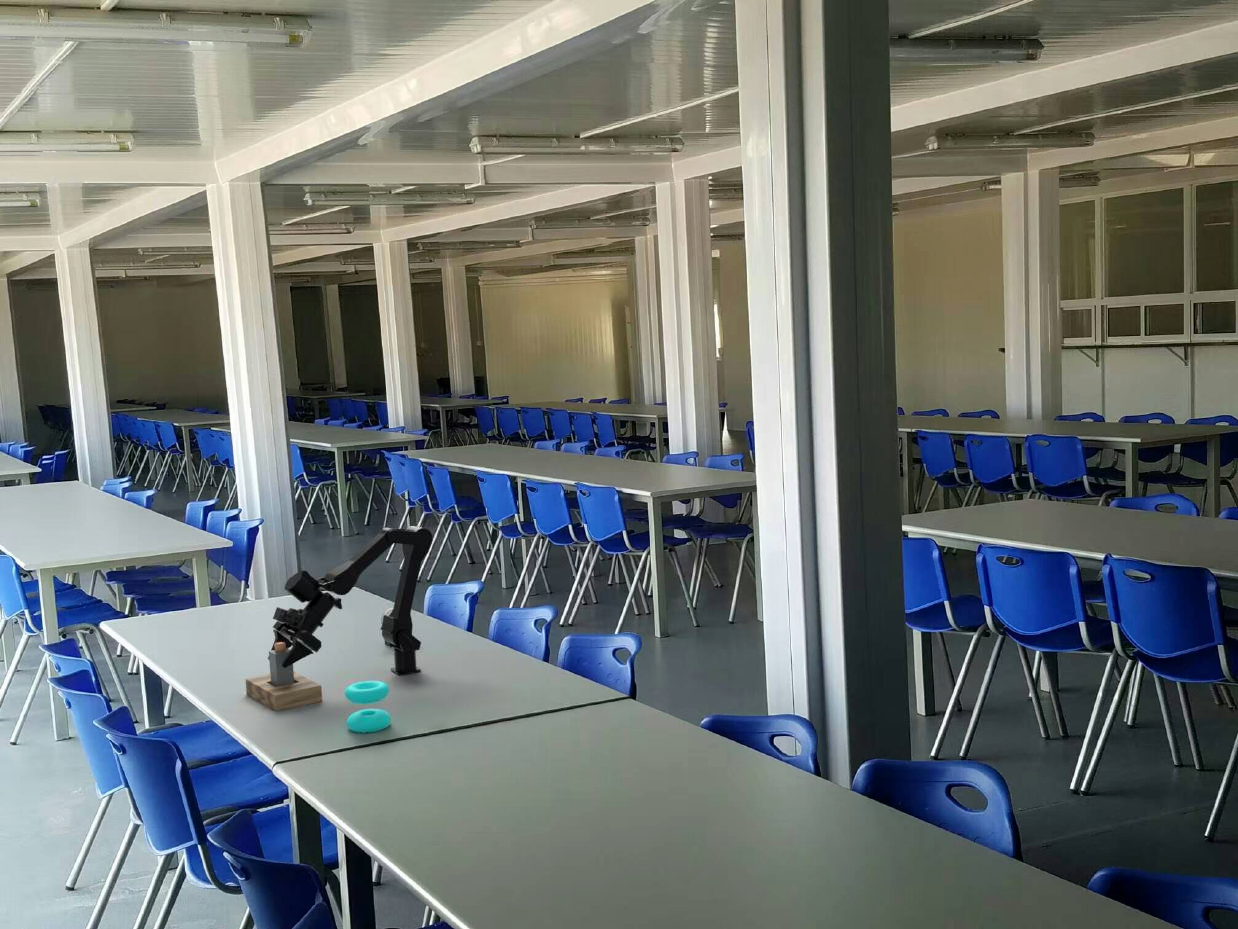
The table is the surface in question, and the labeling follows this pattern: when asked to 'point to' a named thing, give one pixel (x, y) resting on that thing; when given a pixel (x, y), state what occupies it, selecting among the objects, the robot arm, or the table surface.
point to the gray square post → (280, 666)
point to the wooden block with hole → (284, 692)
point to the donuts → (369, 717)
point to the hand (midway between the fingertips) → (276, 663)
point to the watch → (383, 616)
